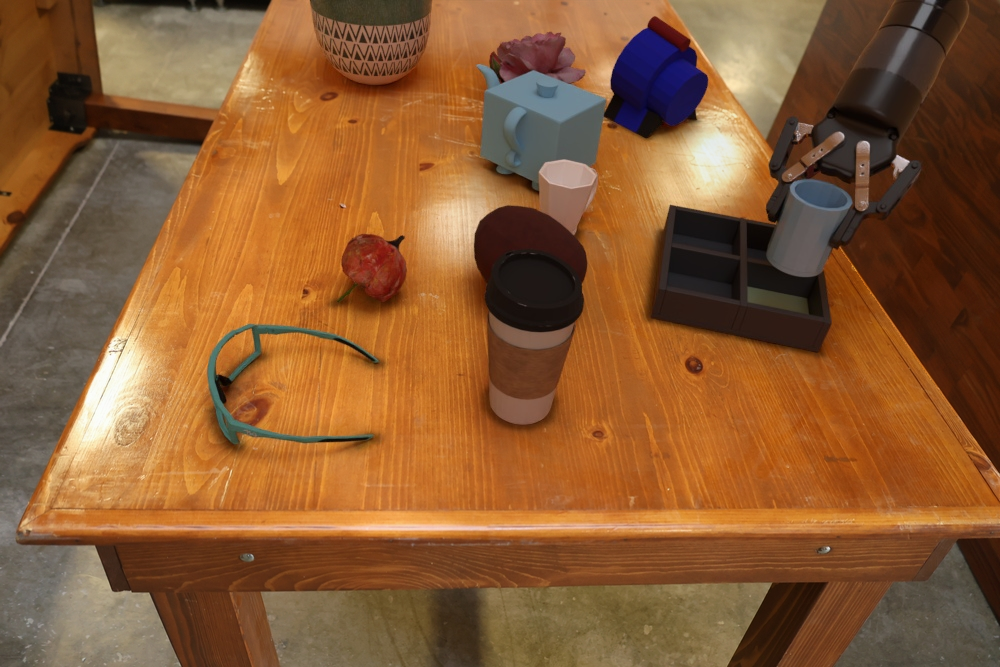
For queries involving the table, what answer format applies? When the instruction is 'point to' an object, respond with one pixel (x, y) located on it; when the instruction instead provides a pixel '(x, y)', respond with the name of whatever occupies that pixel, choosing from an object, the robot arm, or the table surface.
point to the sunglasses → (219, 380)
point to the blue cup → (807, 227)
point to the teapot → (538, 123)
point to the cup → (566, 191)
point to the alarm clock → (656, 80)
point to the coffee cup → (529, 331)
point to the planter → (372, 36)
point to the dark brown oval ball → (525, 238)
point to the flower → (535, 58)
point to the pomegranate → (374, 265)
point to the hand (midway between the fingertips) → (802, 232)
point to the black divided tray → (735, 282)
